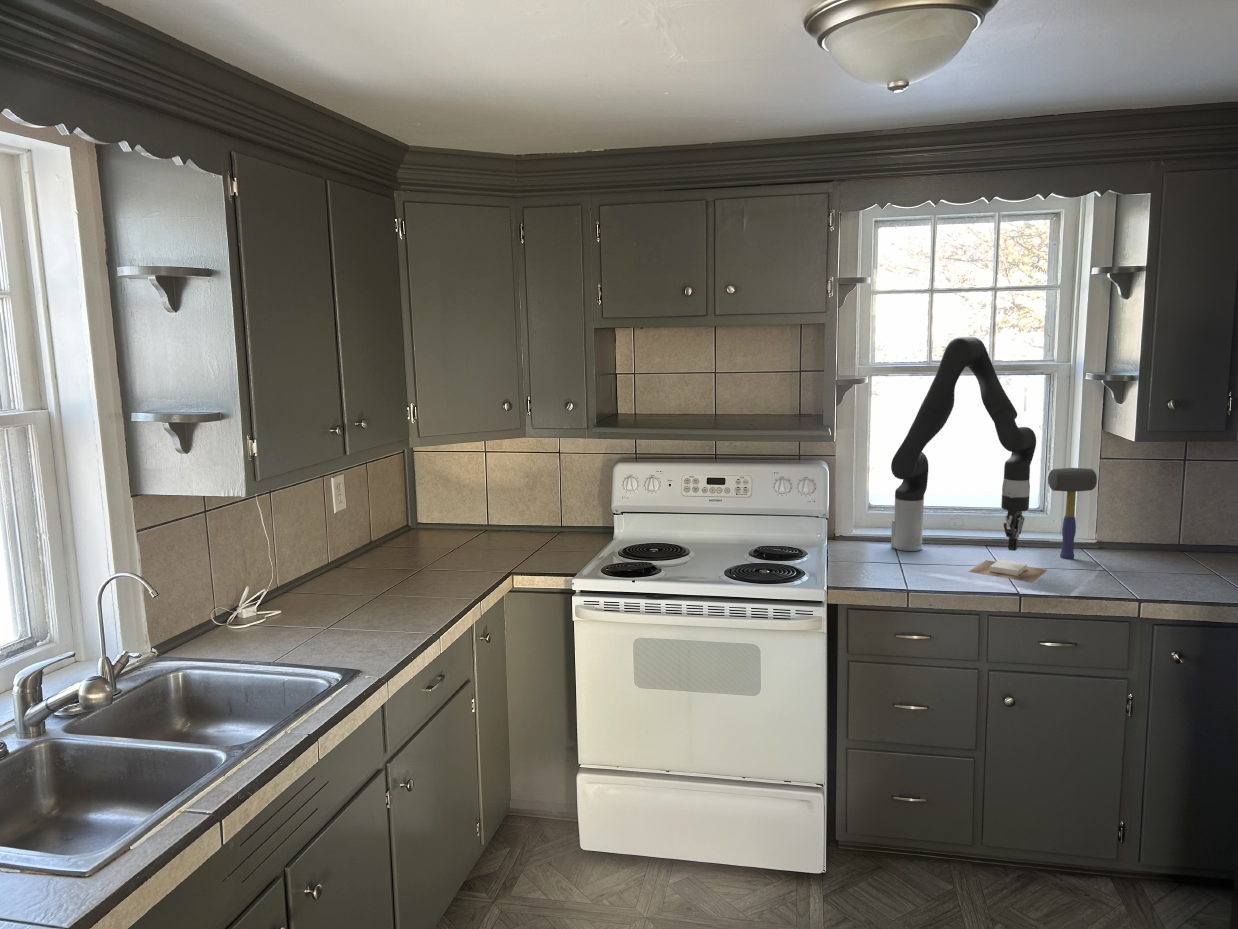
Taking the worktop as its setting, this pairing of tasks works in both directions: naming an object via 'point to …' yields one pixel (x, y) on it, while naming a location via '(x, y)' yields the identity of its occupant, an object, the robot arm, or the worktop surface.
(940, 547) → the worktop surface
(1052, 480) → the rubber mallet
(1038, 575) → the board
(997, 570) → the block
